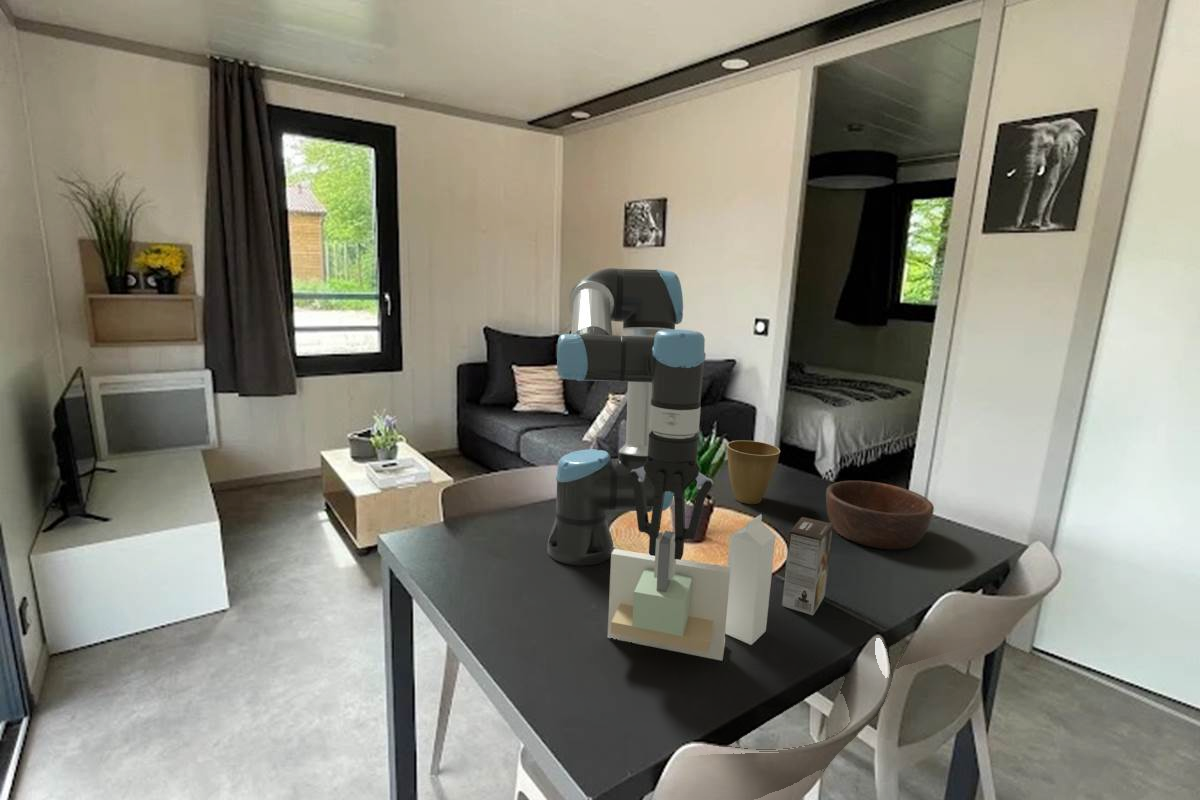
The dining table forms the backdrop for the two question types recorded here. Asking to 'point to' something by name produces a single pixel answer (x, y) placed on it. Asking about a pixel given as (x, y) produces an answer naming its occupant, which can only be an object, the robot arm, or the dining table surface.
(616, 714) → the dining table surface
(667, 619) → the green block with handle
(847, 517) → the wooden bowl
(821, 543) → the coffee box
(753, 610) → the milk
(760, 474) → the plant pot
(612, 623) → the wall board
